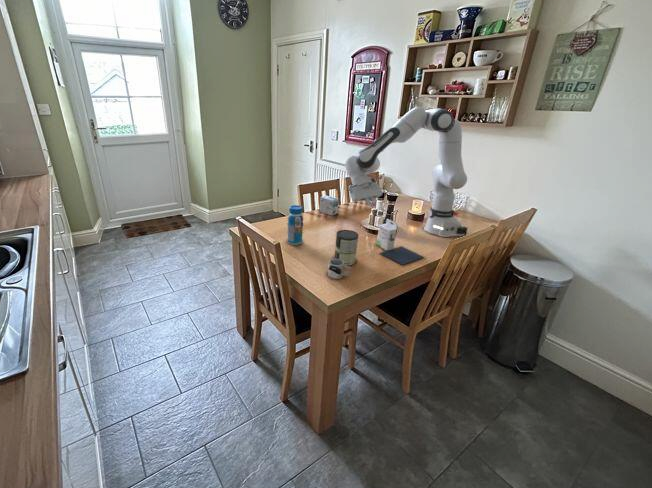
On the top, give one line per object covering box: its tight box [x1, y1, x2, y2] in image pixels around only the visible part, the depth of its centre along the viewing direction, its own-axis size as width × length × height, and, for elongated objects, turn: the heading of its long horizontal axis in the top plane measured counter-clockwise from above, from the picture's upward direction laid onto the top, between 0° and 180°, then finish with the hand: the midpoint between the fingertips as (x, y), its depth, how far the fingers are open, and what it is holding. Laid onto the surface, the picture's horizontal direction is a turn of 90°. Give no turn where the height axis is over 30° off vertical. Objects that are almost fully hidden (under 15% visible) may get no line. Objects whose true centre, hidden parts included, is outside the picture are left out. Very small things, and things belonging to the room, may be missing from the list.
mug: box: [327, 258, 352, 280], centre depth 145 cm, size 10×7×7 cm, turn 69°
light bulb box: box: [319, 195, 340, 217], centre depth 220 cm, size 11×7×11 cm, turn 47°
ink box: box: [375, 218, 398, 252], centre depth 172 cm, size 9×5×15 cm, turn 26°
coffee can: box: [333, 229, 359, 266], centre depth 157 cm, size 10×10×14 cm
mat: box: [379, 246, 424, 266], centre depth 165 cm, size 14×16×1 cm
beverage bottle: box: [286, 204, 304, 246], centre depth 174 cm, size 8×8×20 cm
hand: (372, 205), depth 176 cm, fingers closed
